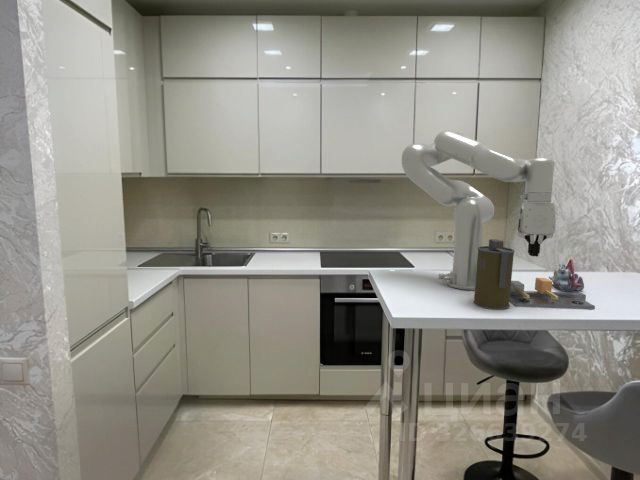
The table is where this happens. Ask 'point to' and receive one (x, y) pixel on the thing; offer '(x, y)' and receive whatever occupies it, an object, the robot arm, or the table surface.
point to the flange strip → (551, 303)
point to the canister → (493, 275)
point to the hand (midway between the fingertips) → (533, 255)
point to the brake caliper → (567, 278)
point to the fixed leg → (518, 289)
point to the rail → (545, 296)
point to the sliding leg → (545, 287)
